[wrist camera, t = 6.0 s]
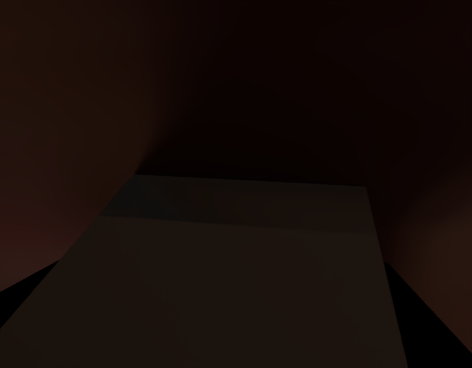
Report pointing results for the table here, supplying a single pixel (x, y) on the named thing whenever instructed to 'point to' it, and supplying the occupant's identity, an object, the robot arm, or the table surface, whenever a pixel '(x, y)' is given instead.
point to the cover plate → (215, 282)
